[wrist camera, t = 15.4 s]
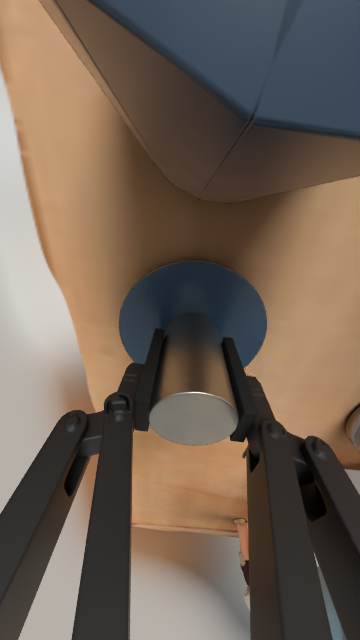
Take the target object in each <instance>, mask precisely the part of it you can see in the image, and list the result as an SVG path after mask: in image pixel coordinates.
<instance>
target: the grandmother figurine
mask: <svg viewBox="0 0 360 640" xmlns="http://www.w3.org/2000/svg"><path fill="white" fill-rule="evenodd" d="M234 522H235V524H236V525H237V531H238V535H239V539H240V550H241V551H240V552H239V557H240V565H241V569H242V571H243V573H244V577H245V581H246V583H247V585H248V587H247V593H246V594H244V600H245V602H246V604H247V607H248V608H249V610H250V588H249V545H248V523H247V522H245V520H244V519H236V520H234Z"/></svg>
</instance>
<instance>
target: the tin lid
mask: <svg viewBox="0 0 360 640" xmlns="http://www.w3.org/2000/svg"><path fill="white" fill-rule="evenodd" d="M155 328H158V329H165V331H164V340H163V345H162V350H161V355H160V361H159V366H158V371H157V376H156V381H155V386H154V391H153V396H152V401H151V406H150V411H149V423H150V425H151V427H152V429H153V430H154V431H155V432H156V433H157V434H158V435H159V436H161V437H162V438H164V439H166V440H168V441H171V442H174V443H178V444H182V445H192V446H198V445H208V444H213V443H216V442H219V441H221V440H223V439H225V438H227V437H229V436H230V435H231V434H232V433H233V432H234V431H235V430H236V428H237V426H238V422H239V415H238V411H237V407H236V403H235V399H234V395H233V391H232V387H231V383H230V379H229V375H228V370H227V366H226V362H225V358H224V354H223V350H222V346H221V344H222V340H223V337H230V338H233V340H234V343H235V346H236V349H237V351H238V354H239V357H240V360H241V363H242V366H243V368H245V367H246V366H247V365H248V364H249V363H250V362H251V361H252V360H253V359H254V357H255V356H256V355H257V353H258V352H259V350H260V348H261V346H262V344H263V341H264V338H265V334H266V329H267V318H266V311H265V308H264V305H263V302H262V300H261V298H260V296H259V294H258V293H257V292H256V290H255V289H254V287H253V286H252V285H251V284H250V283H249V282H248V281H247V280H246V279H245V278H244V277H242V276H241V275H240V274H238V273H237V272H235V271H234V270H232V269H230V268H228V267H226V266H223V265H220V264H217V263H213V262H209V261H202V260H185V261H178V262H173V263H169V264H166V265H163V266H161V267H159V268H157V269H155V270H153V271H151V272H149V273H148V274H147V275H145V276H144V277H142V278H141V279H140V280H139V281H138V282H137V283H136V284H135V285H134V287H133V288H132V289H131V290H130V292H129V293H128V295H127V296H126V298H125V300H124V302H123V305H122V308H121V311H120V316H119V331H120V336H121V340H122V343H123V345H124V347H125V349H126V351H127V353H128V354H129V356H130V357H131V358H132V359H133V361H134V362H135V363H139V364H145V362H146V358H147V355H148V351H149V348H150V344H151V341H152V338H153V334H154V331H155Z"/></svg>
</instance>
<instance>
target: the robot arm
mask: <svg viewBox="0 0 360 640" xmlns="http://www.w3.org/2000/svg"><path fill="white" fill-rule="evenodd" d="M164 331H165V329H158V328H155V331H154V334H153V338H152V341H151V344H150V348H149V351H148V355H147V358H146V362H145V364H139V363H131V364H130V365H129V366H128V367H127V369H126V371H125V374H124V376H123V379H122V381H121V384H120V386H119V389H118V391H117V392H115V393H113V394H111V395H109V396H108V397H107V398H106V400H105V402H104V410H103V411H101V412H97V413H92V414H86V413H85V412H83V411H81V410H73V411H71V412H68V413H67V414H65V415H64V416H62V417H61V419H60V420H59V421H58V423H57V424H56V426H55V427H54V429H53V431H52V432H51V434H50V435H49V437H48V438H47V440H46V442H45V443H44V445H43V446H42V448H41V450H40V451H39V453H38V455H37V456H36V458H35V460H34V461H33V463H32V464H31V466H30V467H29V469H28V471H27V472H26V474H25V476H24V477H23V479H22V480H21V482H20V484H19V485H18V487H17V488H16V490H15V491H14V493H13V495H12V496H11V498H10V499H9V501H8V503H7V505H6V506H5V507H4V509H3V511H2V512H1V514H0V640H18V638H19V636H20V633H21V631H22V628H23V626H24V623H25V620H26V618H27V616H28V613H29V610H30V608H31V605H32V603H33V600H34V598H35V596H36V593H37V591H38V588H39V585H40V583H41V581H42V578H43V575H44V573H45V570H46V568H47V565H48V563H49V560H50V558H51V555H52V553H53V550H54V548H55V545H56V543H57V540H58V538H59V535H60V533H61V530H62V528H63V525H64V523H65V520H66V518H67V515H68V513H69V510H70V508H71V505H72V502H73V500H74V498H75V495H76V493H77V490H78V488H79V485H80V483H81V480H82V478H83V475H84V473H85V470H86V468H87V465H88V463H89V460H90V457H91V456H92V455H95V454H99V459H98V465H97V472H96V479H95V486H94V493H93V500H92V506H91V513H90V520H89V526H88V533H87V539H86V546H85V553H84V560H83V566H82V573H81V580H80V587H79V593H78V600H77V607H76V614H75V620H74V627H73V634H72V640H130V586H131V584H130V582H131V518H132V450H133V431H134V427H135V430H139V431H148V428H149V411H150V406H151V401H152V396H153V391H154V386H155V381H156V376H157V371H158V366H159V361H160V355H161V350H162V345H163V340H164ZM221 346H222V350H223V354H224V358H225V362H226V366H227V370H228V375H229V379H230V383H231V387H232V391H233V395H234V399H235V403H236V407H237V411H238V415H239V422H238V426H237V428H236V430H235V431H234V432H233V433H232V434H231V435H230V440H231V441H238V442H244V440H245V439H246V437H247V441H248V444H249V445H248V446H247V448H246V450H245V451H244V453H243V457H242V458H245V456H246V458H247V501H248V545H249V588H250V630H251V631H250V632H251V640H360V495H359V494H358V492H357V490H356V489H355V487H354V485H353V484H352V482H351V480H350V479H349V477H348V475H347V473H346V472H345V470H344V468H343V467H342V465H341V463H340V462H339V460H338V459H337V457H336V455H335V454H334V452H333V450H332V449H331V448H330V447H329V445H328V444H326V443H325V442H324V441H323V440H321V439H320V438H318V437H315V436H308V437H307V438H306V439H302V438H300V437H297V436H295V435H293V434H291V433H289V432H287V431H286V429H285V428H284V427H283V425H281V424H280V423H279V422H278V421H276V419H275V417H274V415H273V413H272V410H271V408H270V405H269V403H268V401H267V398H266V397H265V393H264V392H263V389H262V386H261V384H260V382H259V381H258V380H257V379H256V378H255V377H251V376H246V374H245V371H244V369H243V366H242V363H241V360H240V357H239V354H238V351H237V349H236V346H235V343H234V340H233V338H230V337H223V340H222V344H221ZM346 434H347V436H348V437H349V439H350V440H351V441H352V443H353V444H354V446H355V447H356V448H357V449H358V450H359V452H360V407H358V408H357V409H356V410H355V411H354V412H353V414H352V415H351V416H350V418H349V419H348V421H347V424H346ZM313 550H314V551H313ZM314 553H315V556H316V558H317V561H318V564H319V567H317V565H316V560H315V556H314Z"/></svg>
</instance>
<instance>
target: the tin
mask: <svg viewBox="0 0 360 640" xmlns="http://www.w3.org/2000/svg"><path fill="white" fill-rule="evenodd" d="M39 2H40V3H41V5H42V6H43V8H44V9H45V10H46V12H47V13H48V15H49V16H50V17H51V19H52V20H53V22H54V23H55V24H56V26H57V27H58V29H59V30H60V32H61V33H62V34H63V36H64V37H65V39H66V40H67V41H68V43H69V44H70V46H71V47H72V48H73V50H74V51H75V53H76V54H77V56H78V57H79V58H80V60H81V61H82V63H83V64H84V65H85V67H86V68H87V70H88V71H89V73H90V74H91V75H92V77H93V78H94V80H95V81H96V82H97V84H98V85H99V87H100V88H101V89H102V91H103V92H104V94H105V95H106V97H107V98H108V99H109V101H110V102H111V104H112V105H113V106H114V108H115V109H116V111H117V112H118V113H119V115H120V116H121V118H122V119H123V121H124V122H125V123H126V125H127V126H128V128H129V129H130V130H131V132H132V133H133V135H134V136H135V137H136V139H137V140H138V142H139V143H140V145H141V146H142V147H143V149H144V150H145V151H146V153H147V154H148V155H149V157H150V158H151V159H152V160H153V162H154V163H155V164H156V166H157V167H158V168H159V169H160V171H161V172H162V173H163V175H164V176H165V177H166V178H167V180H169V181H170V182H171V183H173V184H175V185H176V186H178V187H179V188H180V189H182V190H184V191H185V192H187V193H189V194H190V195H192V196H194V197H196V198H198V199H202V200H208V201H213V202H223V203H235V202H239V201H244V200H249V199H253V198H258V197H263V196H268V195H272V194H277V193H282V192H287V191H291V190H296V189H301V188H306V187H310V186H315V185H320V184H324V183H329V182H334V181H339V180H343V179H348V178H353V177H358V176H360V0H39Z"/></svg>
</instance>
